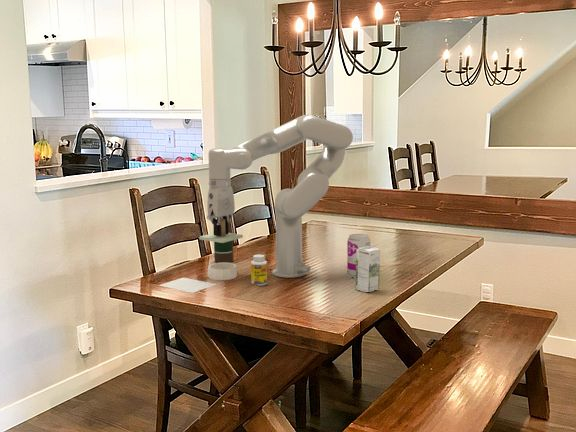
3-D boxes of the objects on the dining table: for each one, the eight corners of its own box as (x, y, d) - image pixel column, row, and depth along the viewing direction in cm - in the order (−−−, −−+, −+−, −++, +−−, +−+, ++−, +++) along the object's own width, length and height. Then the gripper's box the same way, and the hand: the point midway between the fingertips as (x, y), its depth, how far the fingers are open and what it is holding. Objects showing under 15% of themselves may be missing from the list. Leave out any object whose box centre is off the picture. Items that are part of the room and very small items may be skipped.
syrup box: (366, 286, 210) (366, 245, 208) (379, 290, 206) (380, 248, 204) (355, 290, 206) (355, 248, 204) (368, 293, 202) (369, 250, 200)
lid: (242, 237, 222) (242, 218, 221) (222, 243, 213) (222, 223, 212) (219, 234, 228) (219, 215, 227) (199, 239, 219) (198, 220, 218)
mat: (216, 285, 213) (216, 284, 213) (192, 294, 203) (192, 292, 203) (183, 279, 222) (183, 277, 222) (158, 287, 212) (158, 285, 212)
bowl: (242, 276, 224) (241, 264, 223) (224, 283, 216) (223, 270, 215) (221, 272, 230) (221, 261, 229) (203, 279, 222) (202, 266, 221)
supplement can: (355, 280, 218) (355, 239, 216) (343, 274, 226) (343, 234, 223) (374, 277, 222) (375, 236, 219) (361, 272, 229) (361, 232, 227)
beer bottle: (230, 265, 242) (228, 204, 237) (211, 264, 243) (209, 204, 239) (236, 260, 249) (234, 201, 245) (217, 259, 251) (215, 201, 246)
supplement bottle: (252, 286, 211) (252, 257, 210) (250, 282, 217) (249, 254, 215) (268, 285, 213) (268, 256, 211) (265, 281, 218) (265, 253, 216)
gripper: (212, 186, 208) (213, 239, 212) (242, 182, 222) (243, 232, 225) (196, 185, 213) (197, 237, 216) (227, 180, 226) (228, 229, 229)
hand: (221, 234), depth 220 cm, fingers closed on lid, 3 cm apart
